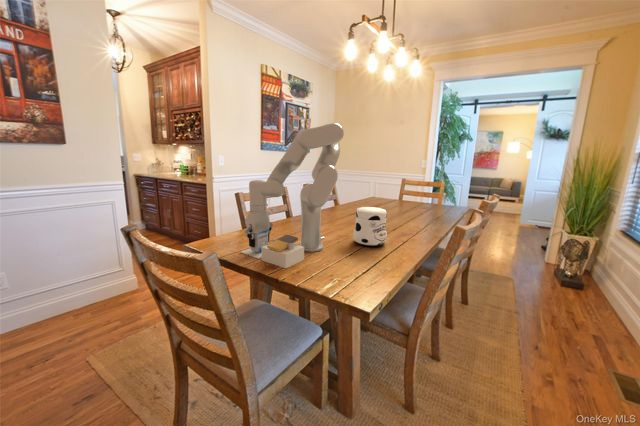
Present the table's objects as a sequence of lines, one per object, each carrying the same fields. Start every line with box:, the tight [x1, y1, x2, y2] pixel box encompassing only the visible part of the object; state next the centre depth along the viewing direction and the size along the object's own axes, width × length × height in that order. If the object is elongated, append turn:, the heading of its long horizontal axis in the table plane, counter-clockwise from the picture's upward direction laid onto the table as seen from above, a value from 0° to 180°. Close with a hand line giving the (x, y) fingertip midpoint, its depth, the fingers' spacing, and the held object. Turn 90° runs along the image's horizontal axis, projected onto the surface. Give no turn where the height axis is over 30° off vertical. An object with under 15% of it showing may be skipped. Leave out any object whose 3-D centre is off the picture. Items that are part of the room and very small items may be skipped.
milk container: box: [352, 206, 388, 247], centre depth 146 cm, size 17×17×18 cm
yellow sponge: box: [267, 234, 299, 252], centre depth 122 cm, size 12×7×2 cm, turn 145°
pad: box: [240, 247, 262, 260], centre depth 132 cm, size 12×12×1 cm
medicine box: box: [250, 230, 269, 252], centre depth 131 cm, size 8×4×9 cm, turn 154°
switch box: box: [261, 238, 305, 269], centre depth 123 cm, size 12×14×9 cm
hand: (259, 243), depth 131 cm, fingers closed on medicine box, 8 cm apart
